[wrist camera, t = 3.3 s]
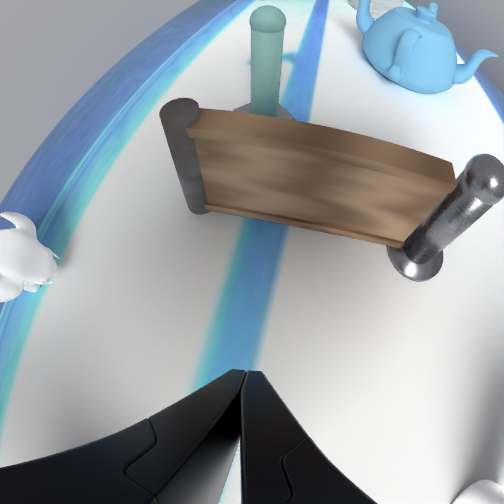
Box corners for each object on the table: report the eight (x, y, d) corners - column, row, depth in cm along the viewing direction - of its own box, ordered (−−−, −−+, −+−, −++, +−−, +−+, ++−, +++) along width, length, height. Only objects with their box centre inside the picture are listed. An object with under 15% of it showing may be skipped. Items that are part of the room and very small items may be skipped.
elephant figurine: (62, 322, 19) (12, 300, 14) (-3, 307, 19) (-49, 285, 14) (80, 238, 22) (41, 199, 16) (15, 236, 22) (-23, 204, 16)
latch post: (258, 136, 26) (260, 19, 15) (234, 112, 27) (228, 4, 16) (294, 121, 26) (309, 11, 16) (269, 98, 28) (274, -4, 17)
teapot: (379, 99, 29) (405, 23, 19) (336, 36, 34) (347, -23, 25) (468, 111, 29) (501, 55, 20) (418, 49, 35) (436, -1, 26)
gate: (396, 228, 21) (455, 154, 13) (397, 253, 20) (462, 183, 12) (192, 189, 22) (168, 97, 14) (184, 211, 22) (153, 122, 14)
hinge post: (414, 294, 20) (514, 223, 10) (374, 241, 22) (447, 142, 12) (450, 259, 21) (538, 184, 11) (413, 211, 23) (482, 119, 13)
